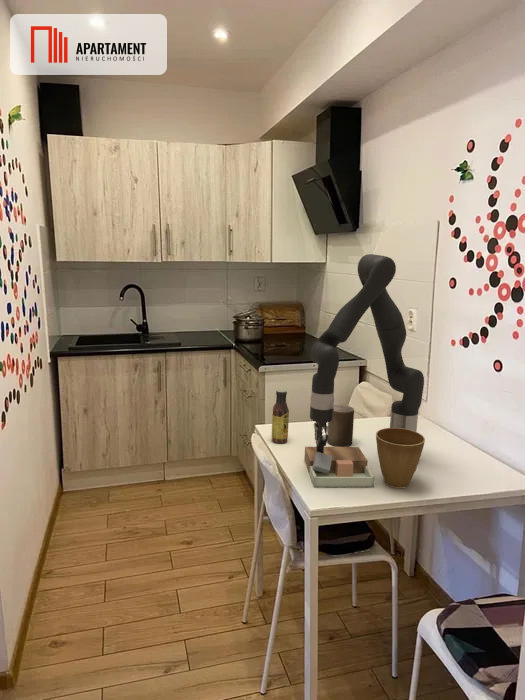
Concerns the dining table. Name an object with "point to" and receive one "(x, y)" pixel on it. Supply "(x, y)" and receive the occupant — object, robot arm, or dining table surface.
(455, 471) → the dining table surface
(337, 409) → the pillar candle
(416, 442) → the plant pot
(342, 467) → the pink square block
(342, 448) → the brown wooden block
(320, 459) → the grey block
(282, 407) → the sauce bottle
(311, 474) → the sage tray
